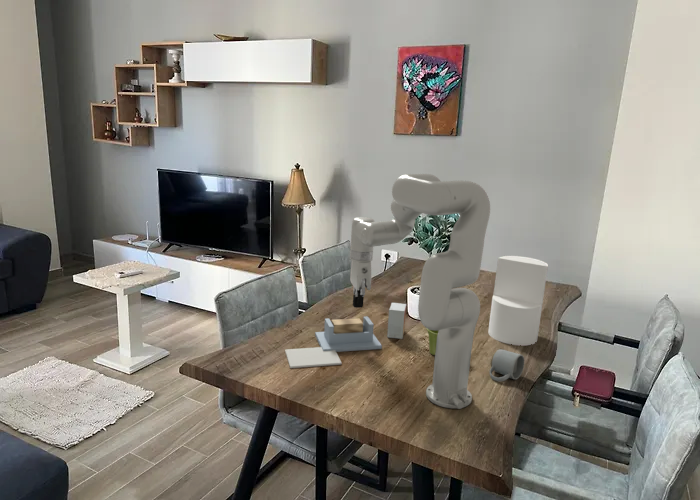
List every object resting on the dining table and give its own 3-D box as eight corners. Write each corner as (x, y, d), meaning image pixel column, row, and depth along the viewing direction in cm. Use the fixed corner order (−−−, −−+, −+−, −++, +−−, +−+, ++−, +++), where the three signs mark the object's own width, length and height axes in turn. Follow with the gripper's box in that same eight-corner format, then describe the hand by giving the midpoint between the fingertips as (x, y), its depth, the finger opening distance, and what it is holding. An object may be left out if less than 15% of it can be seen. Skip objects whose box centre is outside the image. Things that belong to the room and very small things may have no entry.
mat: (341, 364, 160) (341, 362, 159) (290, 368, 156) (290, 366, 155) (333, 347, 171) (333, 346, 171) (285, 351, 167) (285, 349, 167)
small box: (402, 339, 180) (404, 311, 178) (386, 337, 181) (388, 309, 179) (404, 330, 188) (407, 303, 185) (389, 329, 189) (391, 302, 186)
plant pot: (431, 360, 165) (433, 335, 163) (420, 348, 174) (422, 324, 172) (457, 358, 168) (460, 333, 166) (445, 346, 177) (447, 322, 175)
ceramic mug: (499, 365, 164) (501, 343, 162) (523, 375, 159) (526, 352, 157) (482, 376, 156) (484, 353, 155) (507, 387, 151) (510, 363, 149)
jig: (369, 332, 185) (370, 312, 183) (381, 348, 172) (383, 327, 170) (315, 335, 180) (315, 315, 178) (323, 352, 167) (323, 331, 165)
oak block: (359, 327, 178) (359, 318, 178) (362, 332, 174) (363, 323, 173) (330, 329, 176) (331, 319, 175) (333, 334, 172) (334, 324, 171)
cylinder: (495, 322, 200) (504, 253, 193) (541, 333, 192) (552, 261, 185) (482, 337, 185) (491, 262, 179) (531, 349, 177) (542, 272, 170)
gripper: (378, 261, 164) (374, 314, 168) (365, 248, 177) (362, 298, 182) (356, 261, 162) (352, 315, 166) (344, 248, 176) (341, 299, 180)
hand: (357, 306), depth 174 cm, fingers closed
